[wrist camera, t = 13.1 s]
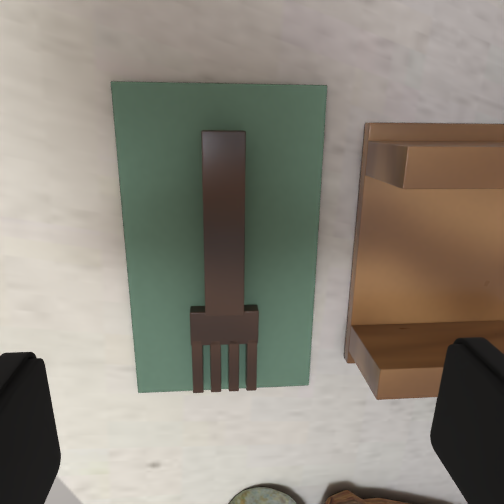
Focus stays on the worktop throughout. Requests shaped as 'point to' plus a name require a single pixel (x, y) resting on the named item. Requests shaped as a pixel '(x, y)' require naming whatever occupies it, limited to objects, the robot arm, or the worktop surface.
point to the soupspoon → (262, 497)
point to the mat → (191, 221)
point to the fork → (224, 265)
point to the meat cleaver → (357, 499)
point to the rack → (425, 252)
